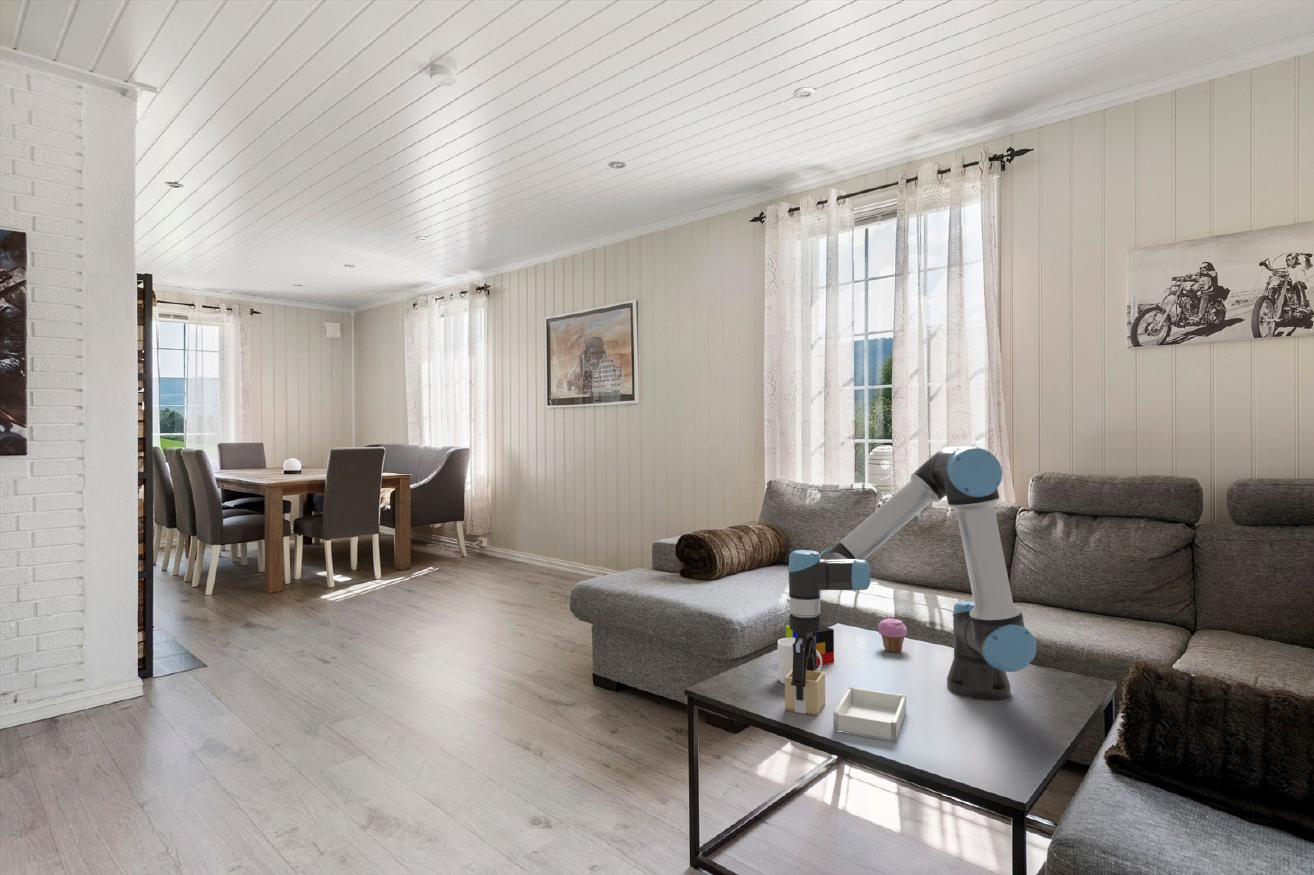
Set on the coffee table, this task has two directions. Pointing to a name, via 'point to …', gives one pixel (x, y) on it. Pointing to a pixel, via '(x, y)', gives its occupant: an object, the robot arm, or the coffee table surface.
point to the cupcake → (892, 634)
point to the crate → (870, 714)
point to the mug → (787, 658)
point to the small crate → (814, 692)
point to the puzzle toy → (820, 643)
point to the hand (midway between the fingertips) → (805, 706)
